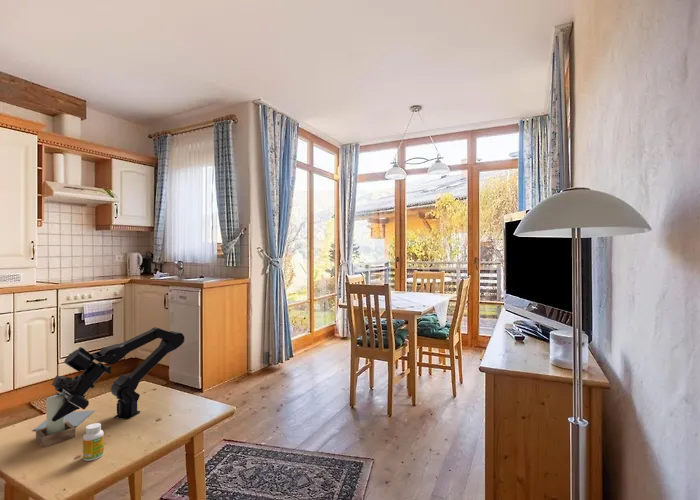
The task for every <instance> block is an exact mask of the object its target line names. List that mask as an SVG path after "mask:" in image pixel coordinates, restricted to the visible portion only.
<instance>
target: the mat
mask: <svg viewBox="0 0 700 500" xmlns="http://www.w3.org/2000/svg"><path fill="white" fill-rule="evenodd" d="M94 412H95V409H91V410H78V411H77V410H76V411H73V412H71V413H69V414H67V415H66V416H65V421H68V422H69V423H70V424H71V425H72V426H74V427H75V428H77V427H79V426H80V425H81V424H82V423H83V422H84V421H86V419H87V418H89V417H90V416H91V415H92V414H93V413H94ZM45 427H46V419H45V420H44V421H42V422H41V423H40V424H39V425H37V426H36V427H35V428H33V429H32V431H33V432H36V430H38V429H41V428H45Z"/></svg>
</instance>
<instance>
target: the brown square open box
mask: <svg viewBox="0 0 700 500" xmlns="http://www.w3.org/2000/svg"><path fill="white" fill-rule="evenodd" d="M74 438H76V427H74V426H72V425H71V424H70V423H69V422H68V421H65V430H64V431H61V432H58V433H54V434H51V435H48V436H46V427H45V428H41V429H38V430H36V431H35V439H36V441H37V442H38V443H39V444H40V446H41V448H45V447H48V446H51V445H54V444H57V443H60V442H64V441H67V440H70V439H74Z"/></svg>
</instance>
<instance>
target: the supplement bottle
mask: <svg viewBox="0 0 700 500" xmlns="http://www.w3.org/2000/svg"><path fill="white" fill-rule="evenodd" d="M104 433H105V432H104V430H103V429H102V424H101V423H100V422H95V423H91V424H88V425H87V426H86V427H85V433H84V434H83V436H82V460H84V461H85V462H91V461H95V460H98V459H100V458H102V457H103V455H104V454H105V453H104V449H105V448H104V447H105V446H104V445H105V444H104V441H105V439H104V438H105V437H104V435H105V434H104Z"/></svg>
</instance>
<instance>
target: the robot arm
mask: <svg viewBox="0 0 700 500" xmlns="http://www.w3.org/2000/svg"><path fill="white" fill-rule="evenodd" d="M156 339H161V341H160V342H159V345H158V347H156V348H155V349H154V350H153V351H152V352H151V353H150V354H149V355H148V356H146V358H145V359H144V360H143V361H142V362H141V363H139V364H138V366H136V367H135V369H133V370H132V372H130V373H128V374H124V373H122V374H120V375H119V376H118V378H117V379H116V380H114V381H113V384H112V385H111V387H110V393H111V394H112V396H115V398H116V399H117V404H116V415H114V416H113V417H114V418H115V419H126V420H129V419H131V418H132V417H134V416H137V415H138V414H140V413H141V410H138V401H139V399H140V396H141V394H140V393H138V392H136V390H137V388H138V386H139V384H140V381H141V380H142V379H143V378H144V377H145V376H146V375H147V374H148V373H149V372H150V371H152V370H153V368H154V367H155V366H157V364H159V362H160V361H161V360H163V358H165V356H166V355H168V354H169V353H170V352H173V351H175V350H177V349H178V348H179V347H181V346H182V345H183V344H184V343H185V335H184V334H183V333H182V332H178V331H175V330H169V331H167V330H165V329H162V328H161V327H157V326H156V327H153V328H151V329H149V330H147V331H144V332H142V333H141V334H138V335H136V336H134V337H132V338H130V339H128V340H126V341H123V342H120V343H114V344H110V345H107V346H105V347H103V348H101V349H100V350H99V351H96V352H93V353H92V352H91V353H90V352H88V351H87V350H86V349H85V348H83V347H82V346H80V347H79V348H77V349H76V350H74V351H72V352H71V353H69V354H68V355H67V356H66V358H65V359H64V361H63V362H64V364H66V365H67V366H69V367H70V368H72V369H73V370H75V372H76V371H77V372H81V371H83V372H81V373H80V375H75V376H74V377H72V376H70V377H69V376H61V375H56V376H55V377H54V378H53V379H54V380H53V381H52V383H51V386H53V388H54V390H56V392H55V395H65V399H64V398H63V405H62V406H61V408H60V409H59V410H58V412H57V413H56V414H55V416H54V417H53V418H52V421H54V422H55V421H57V420H58V419H60V418H62V417H64V416H66V415H67V414H69V413H71V412H76V411H77V410H80V409H82V410H83V411H86V409H87V407H88V406H89V405H90V403H89V402H90V401H89V400H88V399H87V398H86V396H85V395H86V394H87V392H88V391H89V390H90V389H94V388H95V385H94V384H95V383H96V382H97V381H99V379H100V378H101V377H102V376H103V375H104V374H105V373H106V374H108V375H111V374H112V366H111V365H114V364H116V363H118V362H119V361H121V360H123V359H124V358H125V357H126V356H127V355H128V354H129V353H131V352H132V351H134V350H137V349H139V348H140V347H142V346H145V345H148V343H151V342H153V341H155V340H156ZM94 361H97V363H96V362H94ZM103 363H105V364H107V365H105V364H103Z"/></svg>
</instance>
